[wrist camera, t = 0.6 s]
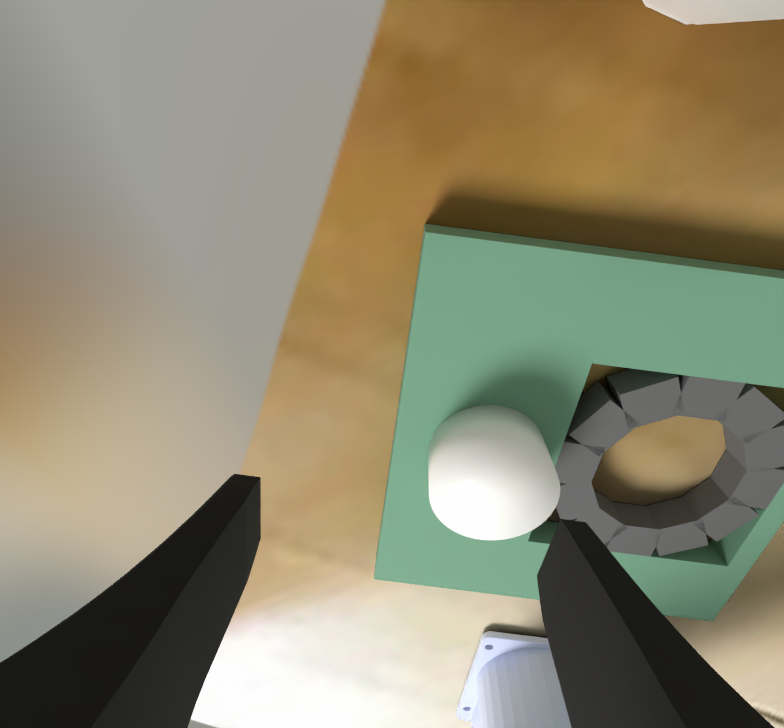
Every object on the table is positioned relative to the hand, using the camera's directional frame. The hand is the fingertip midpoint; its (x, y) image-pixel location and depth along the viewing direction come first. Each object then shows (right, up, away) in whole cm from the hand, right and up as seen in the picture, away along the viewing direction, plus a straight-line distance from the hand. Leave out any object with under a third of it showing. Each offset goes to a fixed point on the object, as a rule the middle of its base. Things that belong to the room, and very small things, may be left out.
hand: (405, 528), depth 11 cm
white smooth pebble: (+4, 0, +9) cm, 10 cm away
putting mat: (+9, 0, +10) cm, 13 cm away
